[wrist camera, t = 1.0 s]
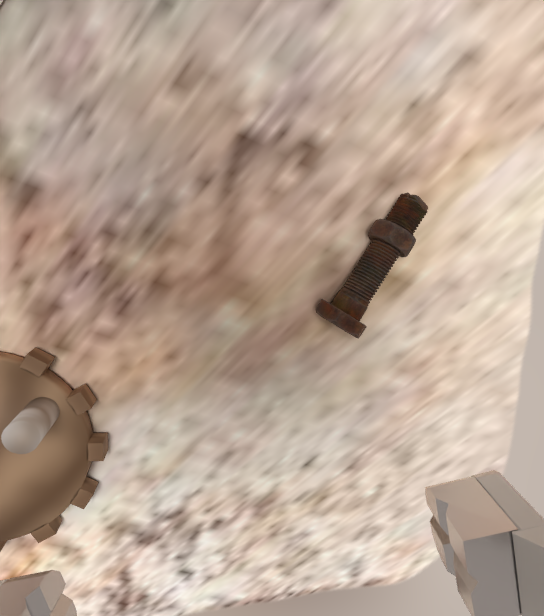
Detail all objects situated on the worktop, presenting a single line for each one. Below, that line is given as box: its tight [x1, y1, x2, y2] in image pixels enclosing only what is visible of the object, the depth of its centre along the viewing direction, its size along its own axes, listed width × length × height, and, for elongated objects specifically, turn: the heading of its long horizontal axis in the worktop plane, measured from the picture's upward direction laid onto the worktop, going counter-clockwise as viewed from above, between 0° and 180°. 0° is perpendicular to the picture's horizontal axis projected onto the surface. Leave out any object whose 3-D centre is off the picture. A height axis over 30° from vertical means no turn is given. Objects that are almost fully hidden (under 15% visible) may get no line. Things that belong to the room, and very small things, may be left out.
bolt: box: [316, 193, 428, 338], centre depth 42 cm, size 6×5×15 cm
